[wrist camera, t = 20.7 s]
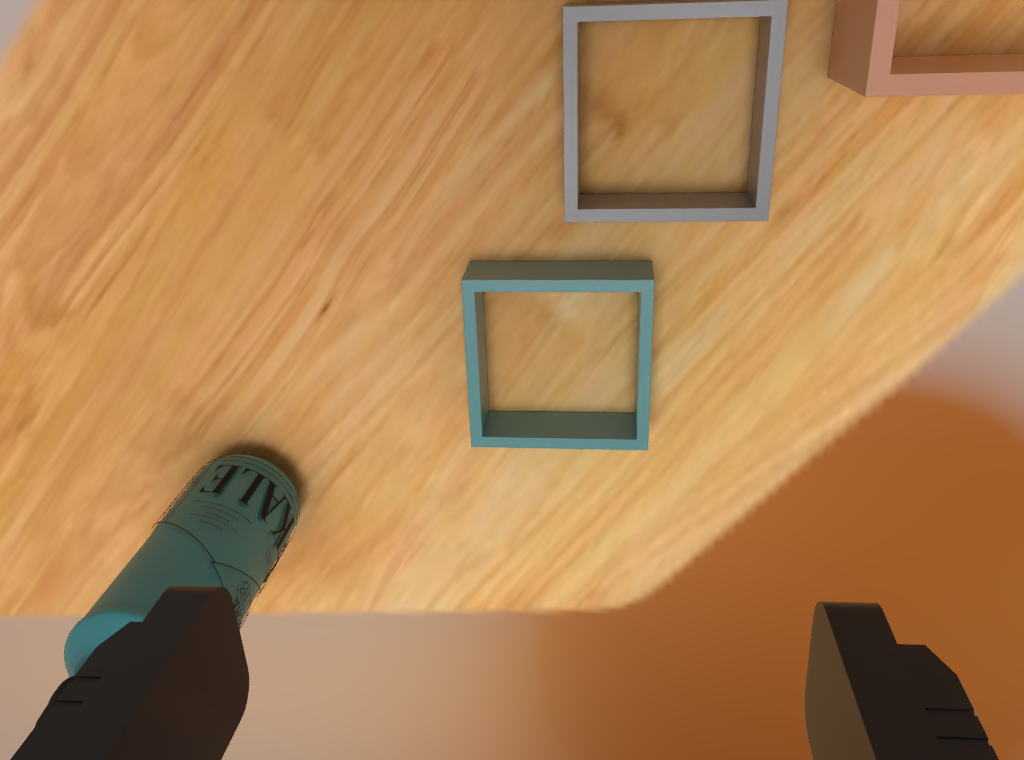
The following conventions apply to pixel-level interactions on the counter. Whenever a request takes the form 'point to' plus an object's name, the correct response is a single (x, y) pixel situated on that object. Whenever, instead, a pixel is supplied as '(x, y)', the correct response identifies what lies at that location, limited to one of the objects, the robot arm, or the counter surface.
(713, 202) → the frame
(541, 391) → the counter surface
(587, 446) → the crate
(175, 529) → the beverage bottle
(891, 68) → the bin
